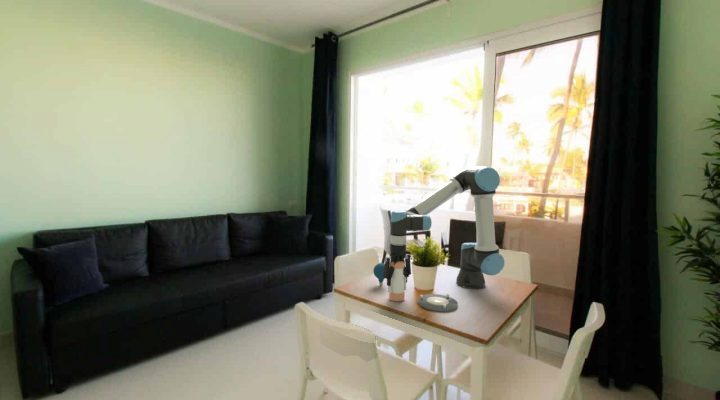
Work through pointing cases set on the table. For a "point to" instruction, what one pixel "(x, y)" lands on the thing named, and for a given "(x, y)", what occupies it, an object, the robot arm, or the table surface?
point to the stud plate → (437, 302)
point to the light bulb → (379, 272)
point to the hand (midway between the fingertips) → (397, 290)
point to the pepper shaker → (397, 282)
